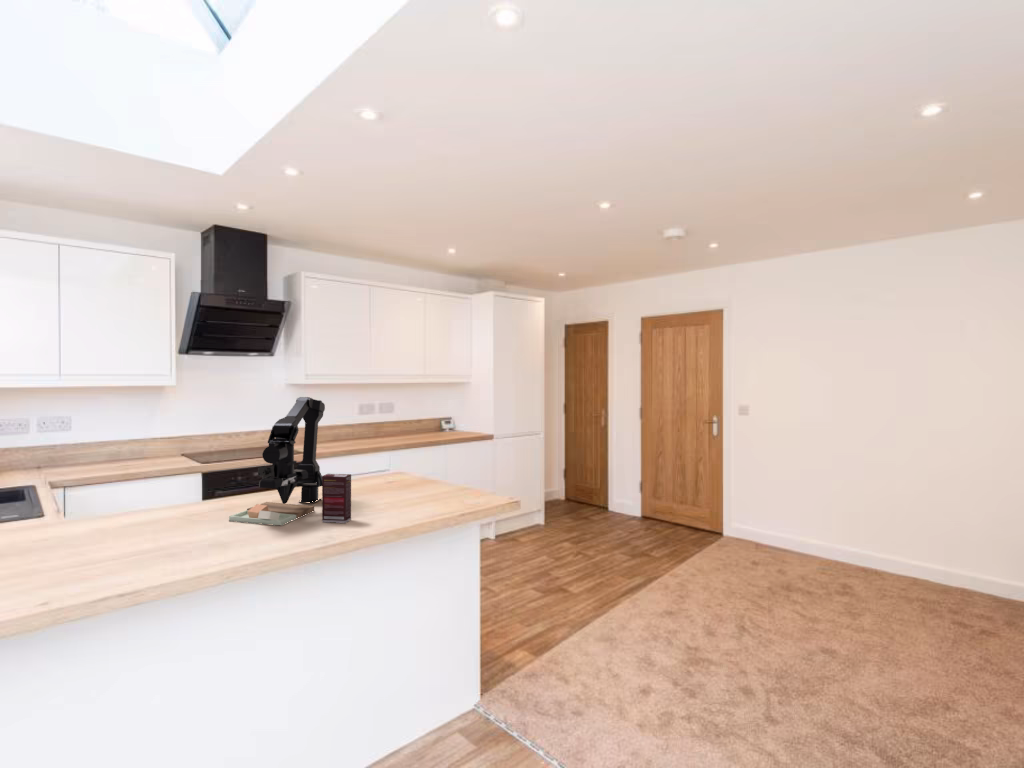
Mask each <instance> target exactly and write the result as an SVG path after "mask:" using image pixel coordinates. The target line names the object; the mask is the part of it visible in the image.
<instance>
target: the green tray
mask: <svg viewBox="0 0 1024 768" xmlns="http://www.w3.org/2000/svg"><path fill="white" fill-rule="evenodd" d="M247 511H248V510H247V509H246V510H243V511H239V512H238V513H235V514H232V515H230V516H229V517H228V518H229V519H228V521H229V522H234V521H237V522H236V523H244V522H248V524H254V523H262V524H261V525H264V524H273V525H272V526H275V525H282V526H284V525H283V524H285V523H287V522H289V521H291V520H294V519H296V515H293V514H282V513H280V516H279V519H278V520H269V519H258V518H249V515H248V512H247ZM296 520H297V519H296ZM294 521H295V520H294ZM289 523H290V522H289ZM287 524H288V523H287ZM285 525H286V524H285Z"/></svg>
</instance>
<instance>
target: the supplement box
mask: <svg viewBox="0 0 1024 768" xmlns="http://www.w3.org/2000/svg"><path fill="white" fill-rule="evenodd" d="M321 491H322V492H321V495H322V497H321V499H322V500H321V501H322V503H321V510H322V511H321V519H322V520H321V521H322V523H330V522H336V523H337V524H347V523H348V522H350V521H351V520H352V474H350V473H347V474H346V473H327V474H324V475H322V486H321ZM349 520H350V521H349ZM346 522H347V523H346ZM336 523H335V524H336Z"/></svg>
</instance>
